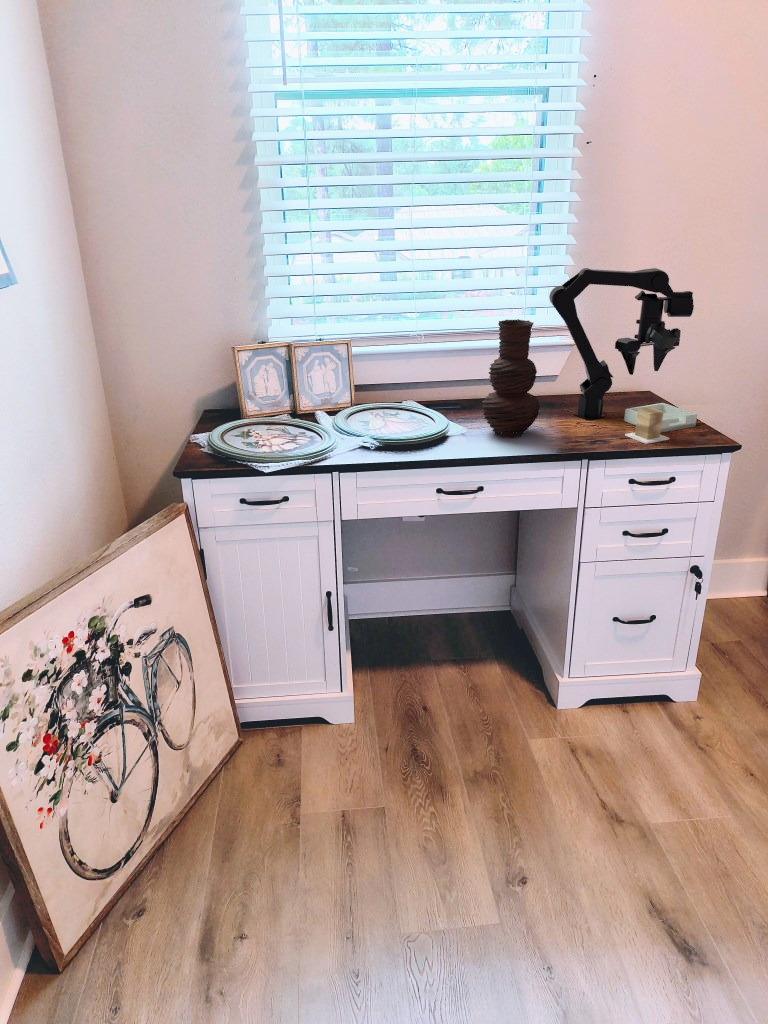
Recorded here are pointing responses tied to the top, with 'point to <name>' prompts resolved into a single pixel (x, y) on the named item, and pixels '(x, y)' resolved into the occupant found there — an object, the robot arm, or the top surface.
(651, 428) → the oak block
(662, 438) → the pad
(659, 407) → the pale green shallow tray
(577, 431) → the top surface
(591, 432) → the top surface
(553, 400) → the top surface
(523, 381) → the vase
